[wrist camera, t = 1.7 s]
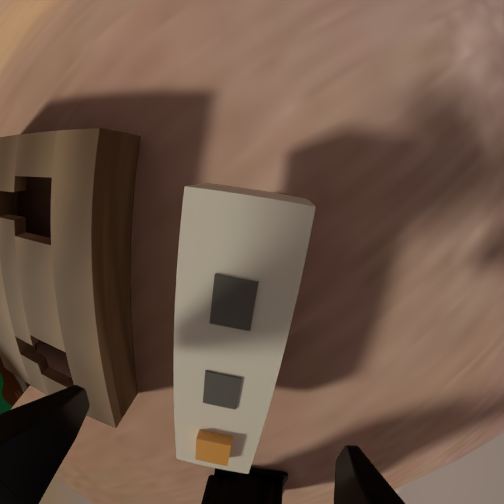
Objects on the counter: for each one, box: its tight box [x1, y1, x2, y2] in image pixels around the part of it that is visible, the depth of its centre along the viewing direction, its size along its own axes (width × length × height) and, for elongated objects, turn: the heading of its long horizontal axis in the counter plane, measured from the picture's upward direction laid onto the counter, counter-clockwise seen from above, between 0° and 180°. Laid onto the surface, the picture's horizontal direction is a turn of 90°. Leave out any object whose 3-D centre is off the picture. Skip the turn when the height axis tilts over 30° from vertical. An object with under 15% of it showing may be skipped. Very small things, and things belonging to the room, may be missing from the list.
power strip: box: [173, 183, 316, 474], centre depth 13 cm, size 4×14×7 cm, turn 172°
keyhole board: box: [0, 128, 140, 428], centre depth 15 cm, size 12×18×4 cm, turn 172°
